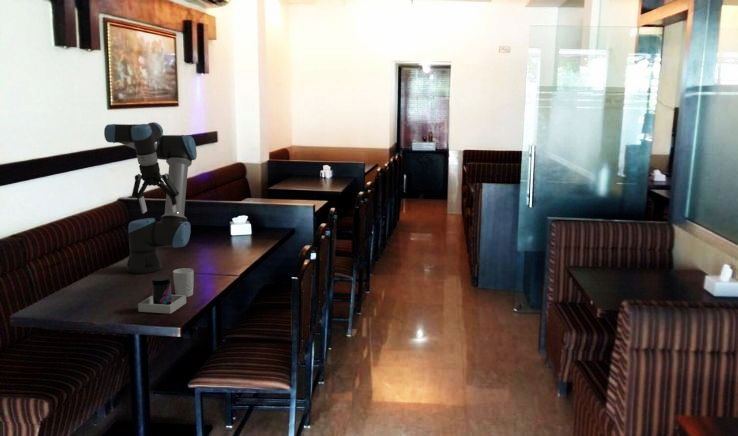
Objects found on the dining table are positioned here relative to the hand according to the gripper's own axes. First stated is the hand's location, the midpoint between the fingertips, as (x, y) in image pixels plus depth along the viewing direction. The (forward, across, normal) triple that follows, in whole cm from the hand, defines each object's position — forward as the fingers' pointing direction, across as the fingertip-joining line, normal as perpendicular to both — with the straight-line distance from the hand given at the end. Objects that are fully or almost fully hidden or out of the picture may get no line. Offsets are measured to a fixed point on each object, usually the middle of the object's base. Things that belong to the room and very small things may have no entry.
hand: (159, 212), depth 258 cm
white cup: (+28, +15, -19) cm, 37 cm away
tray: (+25, +15, -34) cm, 45 cm away
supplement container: (+24, +15, -34) cm, 44 cm away
